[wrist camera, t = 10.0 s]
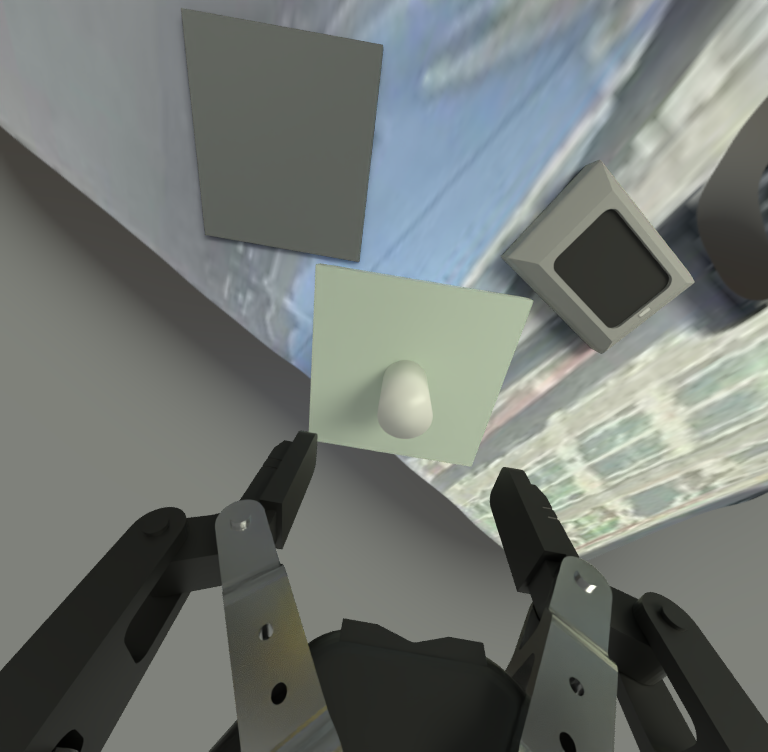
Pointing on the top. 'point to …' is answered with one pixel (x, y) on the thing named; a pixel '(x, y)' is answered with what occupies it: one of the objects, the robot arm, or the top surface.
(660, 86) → the top surface
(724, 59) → the top surface
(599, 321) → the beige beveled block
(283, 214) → the mat
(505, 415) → the top surface
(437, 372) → the cover
